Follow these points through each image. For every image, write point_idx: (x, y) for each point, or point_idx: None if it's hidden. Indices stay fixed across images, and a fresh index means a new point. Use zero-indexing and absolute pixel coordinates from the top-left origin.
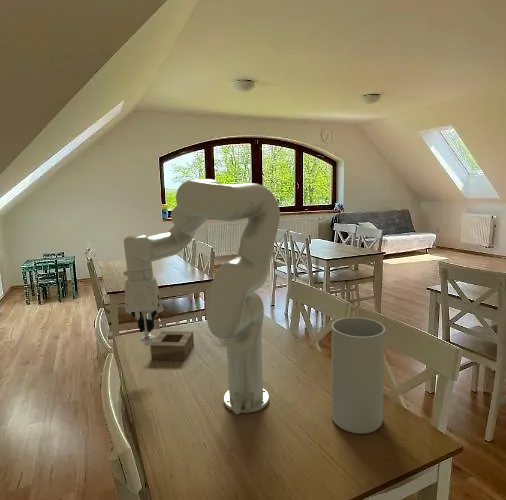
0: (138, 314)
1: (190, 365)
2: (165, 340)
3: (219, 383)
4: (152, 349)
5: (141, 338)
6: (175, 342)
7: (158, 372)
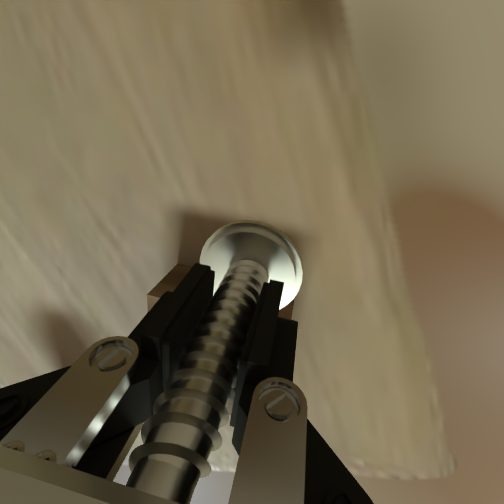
0: (244, 457)
1: (151, 227)
2: None
3: (18, 80)
4: (283, 316)
5: (286, 260)
6: None
7: (251, 194)
